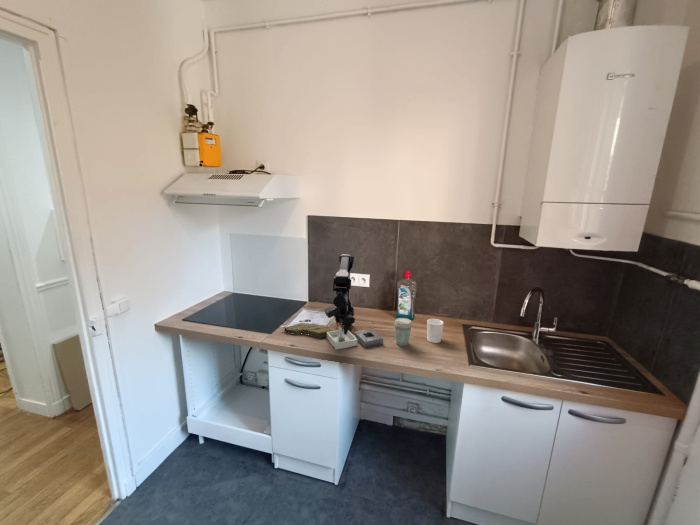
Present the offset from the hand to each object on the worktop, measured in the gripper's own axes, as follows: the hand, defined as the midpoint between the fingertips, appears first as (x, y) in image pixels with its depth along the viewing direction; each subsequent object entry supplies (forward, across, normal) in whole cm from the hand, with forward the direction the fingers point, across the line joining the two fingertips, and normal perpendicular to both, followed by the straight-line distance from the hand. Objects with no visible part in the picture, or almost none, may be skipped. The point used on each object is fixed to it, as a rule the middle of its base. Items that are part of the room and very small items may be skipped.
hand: (341, 330), depth 151 cm
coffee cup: (+6, +13, +27) cm, 31 cm away
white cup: (+6, +16, +44) cm, 47 cm away
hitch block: (+6, +4, +13) cm, 15 cm away
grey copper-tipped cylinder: (+5, 0, 0) cm, 5 cm away
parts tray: (+6, 0, 0) cm, 6 cm away
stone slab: (+7, -17, -12) cm, 22 cm away
